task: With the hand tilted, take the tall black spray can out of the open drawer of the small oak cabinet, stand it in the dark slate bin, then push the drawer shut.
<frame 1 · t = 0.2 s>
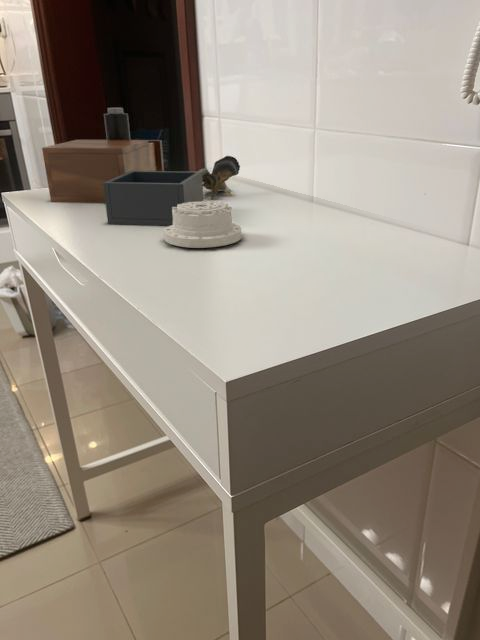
mechanical component: (203, 241, 73), on the table
cabinet: (104, 194, 101), on the table
spray can: (122, 174, 109), point 2 cm above the table, touching drawer
bin: (158, 216, 85), on the table
drawer: (126, 160, 111), point 4 cm above the table, slide at 9.0 cm, touching spray can
toy chipmunk: (220, 196, 101), on the table
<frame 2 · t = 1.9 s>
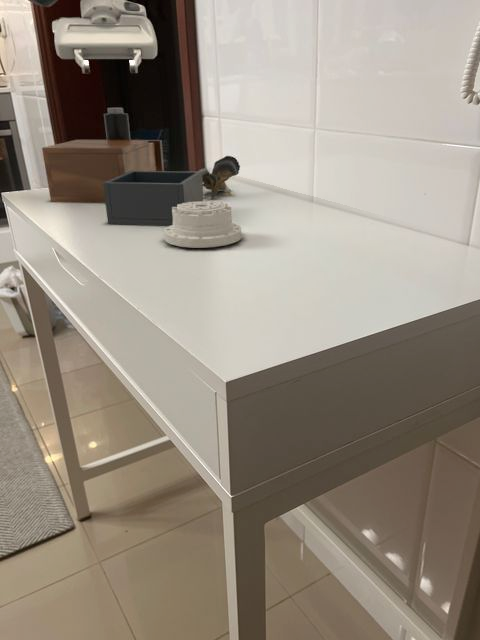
hand: (110, 70, 112), 21 cm above the table, tool tilted 45°, fingers open, 8 cm apart
nothing on the table moved.
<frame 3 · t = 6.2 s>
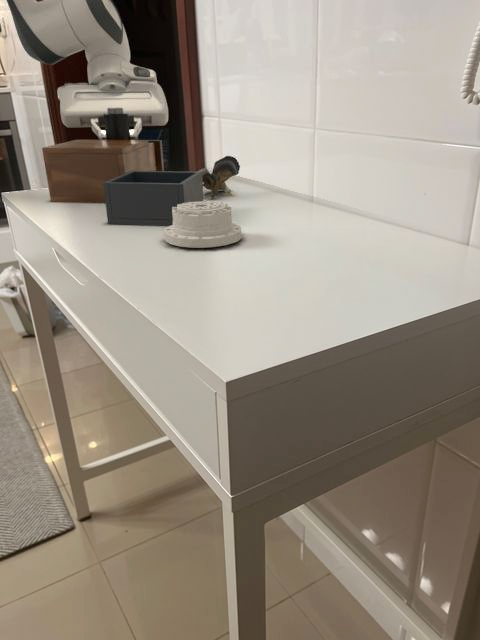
hand: (118, 140, 106), 8 cm above the table, tool tilted 45°, fingers closed on spray can, 4 cm apart
spray can: (122, 174, 109), point 2 cm above the table, touching drawer, gripper
everything else where it was.
when the fingers open (7 cm above the table, at t = 17.3 s): spray can stays where it is, resting on bin.
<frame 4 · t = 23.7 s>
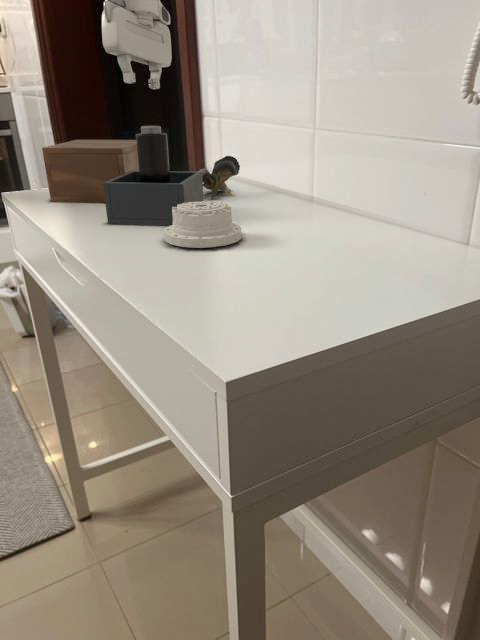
hand: (142, 85, 112), 18 cm above the table, tool pointing down, fingers open, 8 cm apart
spray can: (158, 211, 85), point 1 cm above the table, touching bin
drawer: (126, 160, 111), point 4 cm above the table, slide at 9.0 cm
everything else where it was.
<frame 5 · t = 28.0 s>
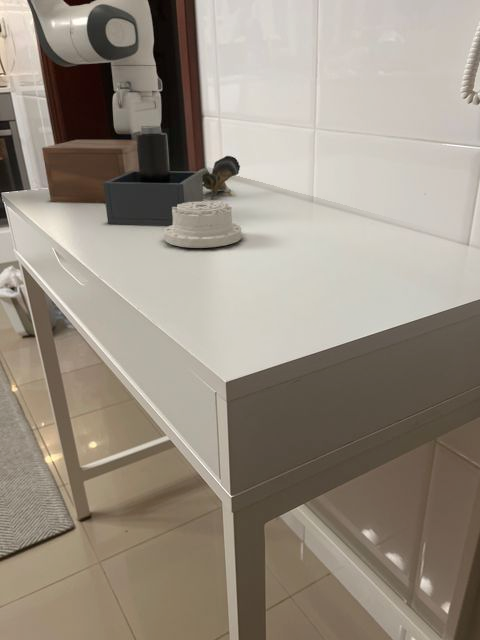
hand: (141, 153, 120), 5 cm above the table, tool pointing down, fingers closed
drawer: (126, 160, 111), point 4 cm above the table, slide at 9.0 cm, touching gripper
everything else where it was.
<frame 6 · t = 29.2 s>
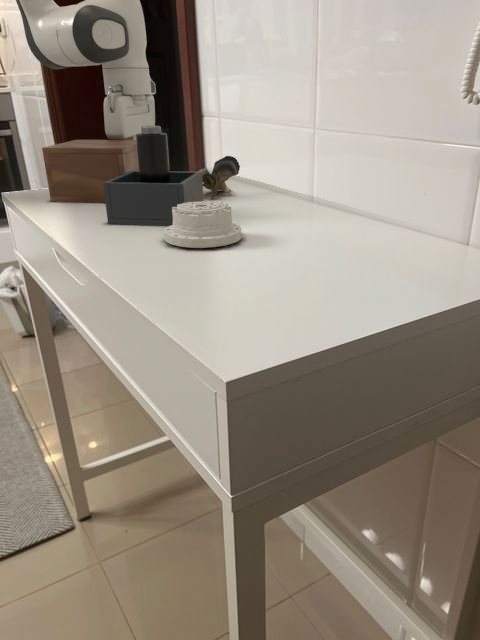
hand: (134, 158, 116), 4 cm above the table, tool pointing down, fingers closed
drawer: (118, 163, 107), point 4 cm above the table, slide at 4.4 cm, touching gripper
everything else where it was.
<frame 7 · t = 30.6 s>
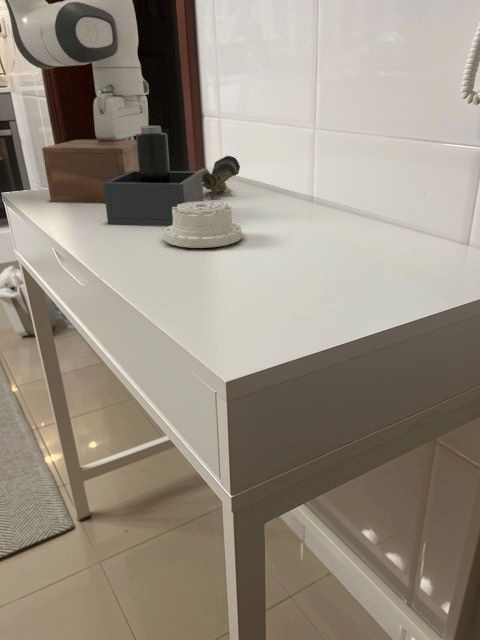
hand: (126, 161, 112), 4 cm above the table, tool pointing down, fingers closed
drawer: (109, 166, 103), point 4 cm above the table, slide at 0.0 cm, touching cabinet, gripper
everything else where it was.
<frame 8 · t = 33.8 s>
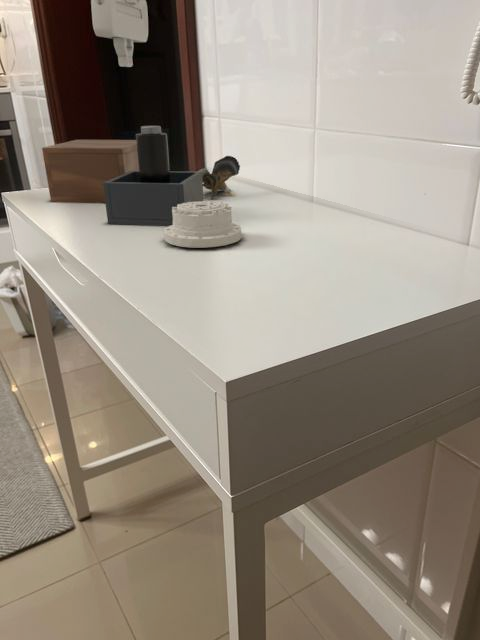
hand: (126, 66, 108), 21 cm above the table, tool pointing down, fingers closed
drawer: (109, 166, 103), point 4 cm above the table, slide at 0.0 cm, touching cabinet
everything else where it was.
at the end: spray can inside the target area in the bin (0.0 cm from its centre), point 0.8 cm above the bin's base; spray can tilted 0°; drawer slide at 0.0 cm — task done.
